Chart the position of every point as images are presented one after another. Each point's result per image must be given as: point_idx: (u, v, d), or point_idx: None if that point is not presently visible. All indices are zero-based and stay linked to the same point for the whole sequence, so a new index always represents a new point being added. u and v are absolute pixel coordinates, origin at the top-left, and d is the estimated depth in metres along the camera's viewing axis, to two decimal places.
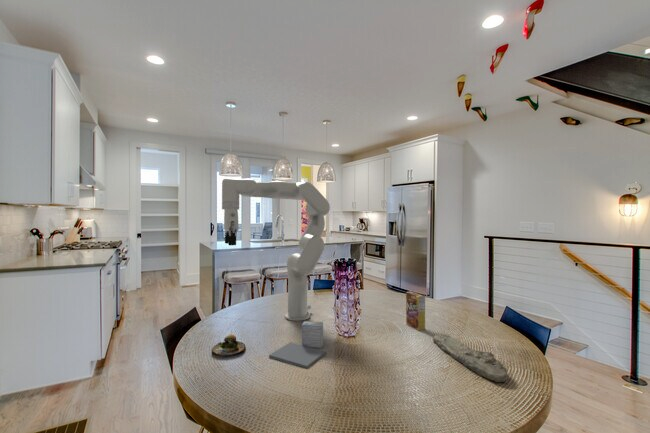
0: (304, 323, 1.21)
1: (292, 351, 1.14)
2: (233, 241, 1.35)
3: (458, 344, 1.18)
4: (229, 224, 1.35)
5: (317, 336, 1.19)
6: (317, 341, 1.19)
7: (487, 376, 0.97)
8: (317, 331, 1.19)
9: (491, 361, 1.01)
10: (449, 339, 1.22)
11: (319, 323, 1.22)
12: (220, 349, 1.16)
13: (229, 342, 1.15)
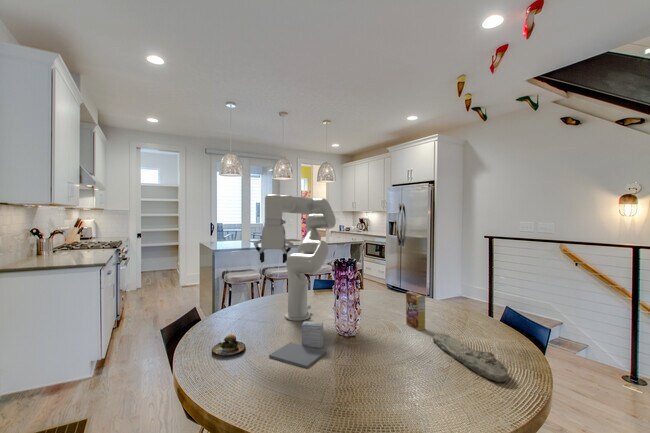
0: (304, 323, 1.21)
1: (292, 351, 1.14)
2: (286, 258, 1.36)
3: (458, 344, 1.18)
4: (284, 241, 1.34)
5: (317, 336, 1.19)
6: (317, 341, 1.19)
7: (488, 376, 0.97)
8: (317, 331, 1.19)
9: (491, 361, 1.01)
10: (449, 339, 1.22)
11: (319, 323, 1.22)
12: (220, 349, 1.16)
13: (229, 342, 1.15)
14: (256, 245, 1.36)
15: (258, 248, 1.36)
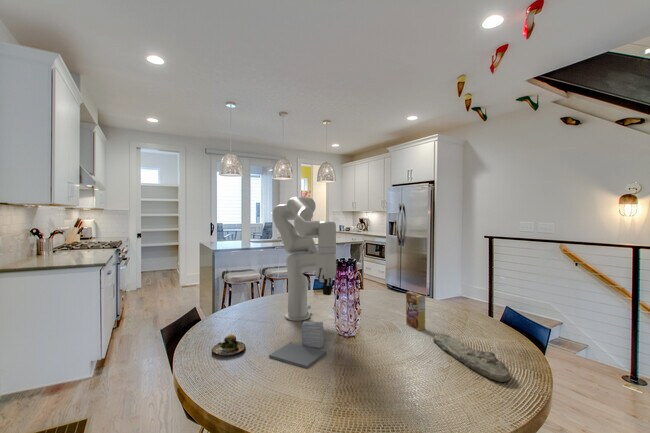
0: (304, 323, 1.21)
1: (292, 351, 1.14)
2: None
3: (459, 344, 1.18)
4: None
5: (317, 336, 1.19)
6: (317, 341, 1.19)
7: (490, 376, 0.97)
8: (317, 331, 1.19)
9: (493, 361, 1.01)
10: (449, 339, 1.22)
11: (319, 323, 1.22)
12: (220, 349, 1.16)
13: (229, 342, 1.15)
14: (323, 280, 1.27)
15: (326, 281, 1.29)
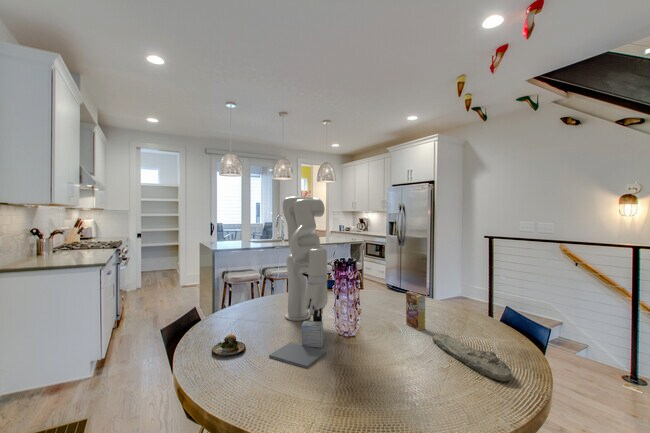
0: (303, 324, 1.20)
1: (292, 351, 1.14)
2: None
3: (459, 344, 1.18)
4: None
5: (316, 337, 1.19)
6: (317, 341, 1.19)
7: (492, 376, 0.97)
8: (317, 332, 1.18)
9: (494, 361, 1.02)
10: (449, 339, 1.22)
11: (319, 323, 1.20)
12: (220, 349, 1.16)
13: (229, 342, 1.15)
14: (313, 311, 1.21)
15: None
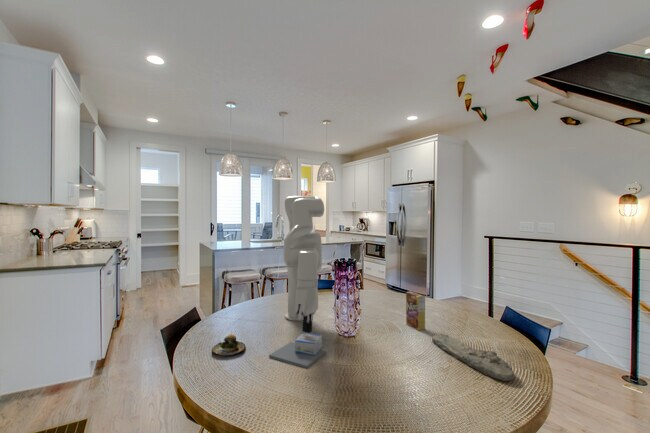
0: (296, 348, 1.13)
1: (292, 351, 1.14)
2: None
3: (459, 344, 1.18)
4: None
5: None
6: None
7: (495, 376, 0.97)
8: None
9: (496, 360, 1.02)
10: (449, 339, 1.22)
11: (311, 348, 1.11)
12: (220, 349, 1.16)
13: (229, 342, 1.15)
14: (303, 317, 1.15)
15: (306, 317, 1.16)
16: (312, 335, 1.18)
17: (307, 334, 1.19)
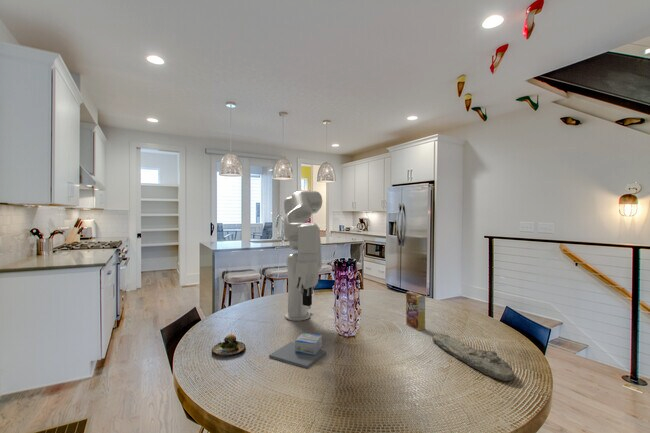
0: (296, 348, 1.13)
1: (292, 351, 1.14)
2: None
3: (459, 344, 1.18)
4: None
5: None
6: None
7: (494, 376, 0.97)
8: None
9: (496, 360, 1.02)
10: (449, 339, 1.22)
11: (311, 348, 1.11)
12: (220, 349, 1.16)
13: (229, 342, 1.15)
14: (303, 290, 1.15)
15: (306, 290, 1.16)
16: (312, 335, 1.18)
17: (307, 334, 1.19)
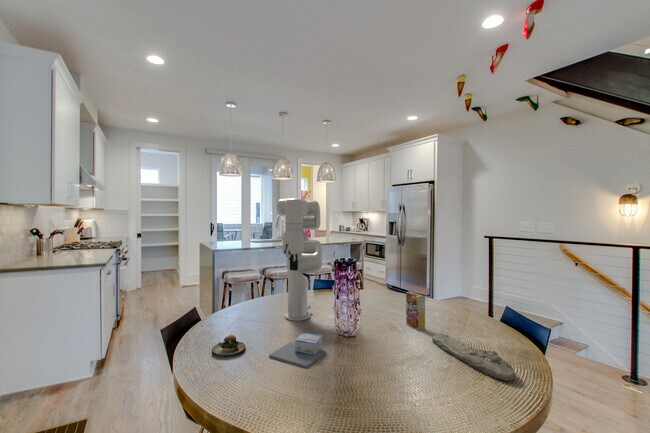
0: (296, 348, 1.13)
1: (292, 351, 1.14)
2: None
3: (459, 344, 1.18)
4: None
5: None
6: None
7: (496, 375, 0.97)
8: None
9: (497, 360, 1.02)
10: (449, 339, 1.22)
11: (311, 348, 1.11)
12: (220, 349, 1.16)
13: (229, 342, 1.15)
14: (289, 255, 1.31)
15: None
16: (312, 335, 1.18)
17: (307, 334, 1.19)
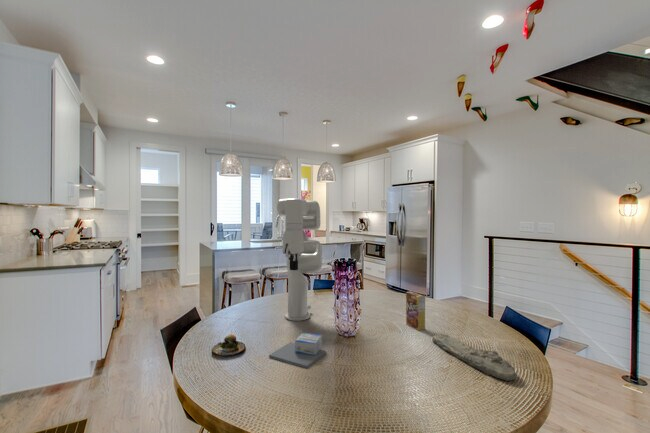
0: (296, 348, 1.13)
1: (292, 351, 1.14)
2: None
3: (459, 344, 1.18)
4: None
5: None
6: None
7: (497, 375, 0.97)
8: None
9: (498, 360, 1.02)
10: (449, 339, 1.22)
11: (311, 348, 1.11)
12: (220, 349, 1.16)
13: (229, 342, 1.15)
14: (289, 255, 1.31)
15: None
16: (312, 335, 1.18)
17: (307, 334, 1.19)
